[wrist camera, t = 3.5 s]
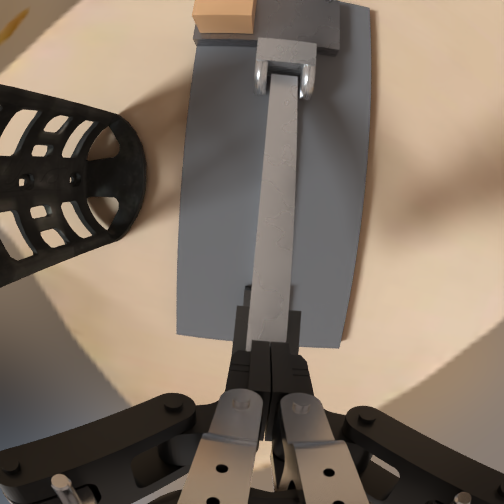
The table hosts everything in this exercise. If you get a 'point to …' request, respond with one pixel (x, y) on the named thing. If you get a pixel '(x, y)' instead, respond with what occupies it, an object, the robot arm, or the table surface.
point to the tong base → (285, 44)
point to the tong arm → (274, 229)
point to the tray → (249, 186)
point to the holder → (65, 180)
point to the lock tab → (224, 16)
